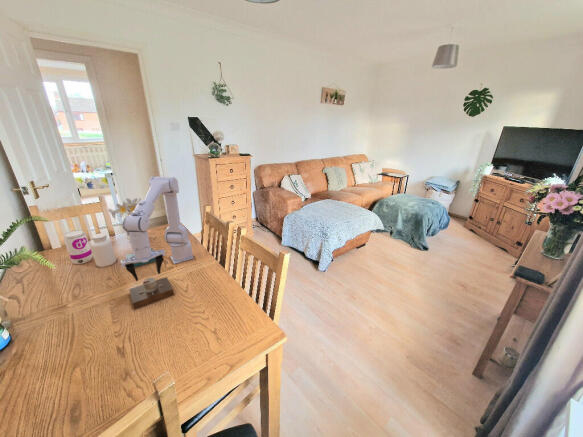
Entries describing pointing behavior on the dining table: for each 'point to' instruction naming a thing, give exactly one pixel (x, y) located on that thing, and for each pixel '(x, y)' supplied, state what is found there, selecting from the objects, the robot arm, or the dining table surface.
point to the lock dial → (150, 284)
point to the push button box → (140, 262)
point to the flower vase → (125, 208)
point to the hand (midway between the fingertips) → (148, 275)
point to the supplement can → (78, 246)
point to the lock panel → (151, 293)
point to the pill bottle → (102, 250)
